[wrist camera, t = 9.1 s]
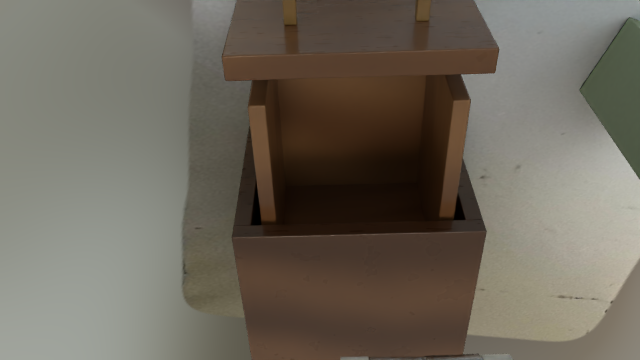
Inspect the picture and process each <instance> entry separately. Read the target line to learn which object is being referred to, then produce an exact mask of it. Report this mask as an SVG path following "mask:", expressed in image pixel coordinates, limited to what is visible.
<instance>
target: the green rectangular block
mask: <svg viewBox="0 0 640 360" xmlns="http://www.w3.org/2000/svg"><path fill="white" fill-rule="evenodd" d="M580 92H581V94H582V95H583V97H584V98H585V99H586V101H587V102H588V104H589V105H590V107H591V108H592V110H593V111H594V113H595V114H596V116H597V117H598V119H599V120H600V122H601V123H602V125H603V126H604V127H605V129H606V130H607V132H608V133H609V135H610V136H611V138H612V139H613V141H614V142H615V144H616V145H617V147H618V148H619V150H620V151H621V153H622V154H623V155H624V157H625V158H626V160H627V161H628V163H629V164H630V166H631V167H632V169H633V170H634V172H635V173H636V175H637V176H638V178H639V179H640V21H638V20H635V19H632V18H628V20H627V21H626V23H625V24H624V26H623V27H622V29H621V30H620V32H619V33H618V35H617V36H616V38H615V39H614V41H613V42H612V43H611V45H610V46H609V48H608V49H607V51H606V52H605V54H604V55H603V57H602V58H601V60H600V61H599V63H598V64H597V66H596V67H595V69H594V70H593V71H592V73H591V74H590V76H589V77H588V79H587V80H586V82H585V83H584V85H583V86H582V88H581V89H580Z"/></svg>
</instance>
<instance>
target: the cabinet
mask: <svg viewBox="0 0 640 360" xmlns="http://www.w3.org/2000/svg"><path fill="white" fill-rule="evenodd" d="M486 232H487V231H486V228H485V225H484V222H483V219H482V215H481V212H480V209H479V206H478V203H477V200H476V197H475V194H474V191H473V188H472V185H471V181H470V178H469V175H468V172H467V169H466V166H465V163H464V160H463V158H462V165H461V172H460V179H459V186H458V193H457V200H456V207H455V214H454V220H452V221H412V222H373V223H333V224H293V225H262V223H261V214H260V206H259V197H258V189H257V181H256V172H255V164H254V155H253V147H252V139H251V130H250V126H249V131H248V138H247V144H246V151H245V157H244V163H243V170H242V176H241V183H240V189H239V195H238V202H237V208H236V215H235V221H234V227H233V234H232V242H233V248H234V254H235V260H236V266H237V272H238V278H239V284H240V290H241V297H242V303H243V309H244V315H245V321H246V327H247V333H248V339H249V345H250V352H251V358H252V360H340V358H341V357H363V356H368V357H412V356H423V357H424V356H431V355H460V354H463V351H464V346H465V341H466V336H467V330H468V325H469V320H470V315H471V310H472V304H473V299H474V294H475V289H476V284H477V279H478V273H479V268H480V263H481V258H482V253H483V247H484V242H485V237H486Z"/></svg>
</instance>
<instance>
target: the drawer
mask: <svg viewBox="0 0 640 360" xmlns="http://www.w3.org/2000/svg"><path fill="white" fill-rule="evenodd" d="M498 53H499V47H498V45H497V43H496V41H495V40H494V38H493V36H492V34H491V32H490V30H489V28H488V26H487V24H486V23H485V21H484V19H483V17H482V15H481V13H480V11H479V9H478V7H477V6H476V4H475V2H474V0H237V1H236V5H235V9H234V13H233V16H232V20H231V24H230V28H229V31H228V35H227V39H226V43H225V47H224V50H223V54H222V62H223V69H224V76H225V80H226V81H241V80H252V84H251V90H250V96H249V102H248V113H249V122H250V130H251V139H252V147H253V155H254V164H255V172H256V181H257V189H258V197H259V206H260V214H261V223H262V225H293V224H333V223H373V222H412V221H452V220H454V214H455V207H456V200H457V193H458V186H459V179H460V172H461V165H462V158H463V152H464V145H465V138H466V131H467V124H468V117H469V110H470V103H471V99H470V97H469V94H468V92H467V89H466V87H465V84H464V81H463V79H462V76H461V74H488V73H495V71H496V65H497V59H498Z"/></svg>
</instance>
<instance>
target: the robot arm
mask: <svg viewBox="0 0 640 360" xmlns="http://www.w3.org/2000/svg"><path fill="white" fill-rule="evenodd" d="M340 360H513V358H512V357H511V356H510V355H509V354H489V355H479V354H460V355H431V356H424V357H423V356H412V357H368V356H363V357H341V358H340Z"/></svg>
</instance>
